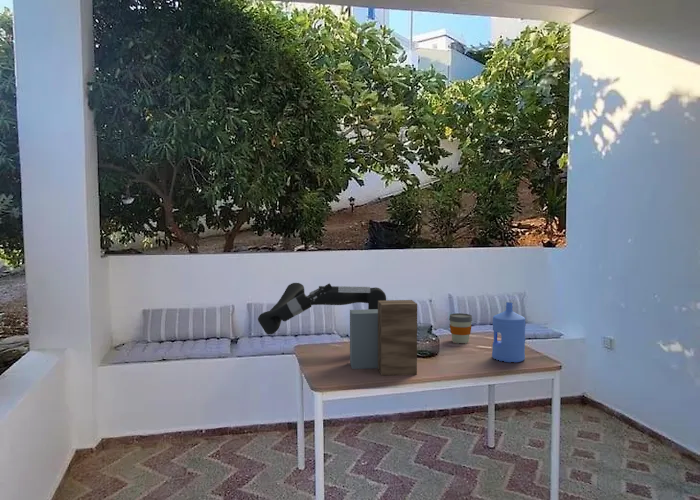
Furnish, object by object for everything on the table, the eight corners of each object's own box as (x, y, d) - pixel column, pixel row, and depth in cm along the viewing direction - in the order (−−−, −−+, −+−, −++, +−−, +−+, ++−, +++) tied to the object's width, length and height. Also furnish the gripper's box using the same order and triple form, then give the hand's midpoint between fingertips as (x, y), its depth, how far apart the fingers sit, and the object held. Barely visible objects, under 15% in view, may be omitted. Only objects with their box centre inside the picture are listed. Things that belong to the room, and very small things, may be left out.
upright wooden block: (377, 368, 245) (377, 300, 242) (411, 367, 246) (411, 299, 244) (381, 375, 234) (381, 304, 231) (416, 374, 235) (417, 304, 233)
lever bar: (318, 291, 246) (318, 286, 246) (369, 291, 249) (369, 286, 248) (318, 292, 243) (319, 286, 243) (370, 292, 246) (370, 287, 245)
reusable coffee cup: (451, 344, 289) (452, 317, 288) (446, 339, 301) (447, 313, 300) (474, 344, 289) (474, 317, 288) (468, 338, 302) (468, 313, 300)
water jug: (526, 356, 264) (527, 301, 263) (522, 364, 250) (523, 306, 248) (494, 353, 271) (495, 299, 269) (489, 360, 257) (490, 304, 255)
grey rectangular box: (349, 362, 254) (349, 309, 252) (390, 361, 256) (390, 308, 254) (352, 369, 244) (351, 313, 242) (394, 367, 246) (394, 312, 244)
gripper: (303, 308, 251) (334, 290, 252) (303, 314, 237) (336, 294, 238) (294, 295, 250) (326, 276, 251) (295, 300, 236) (328, 280, 237)
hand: (331, 285), depth 245 cm, fingers closed on lever bar, 3 cm apart
